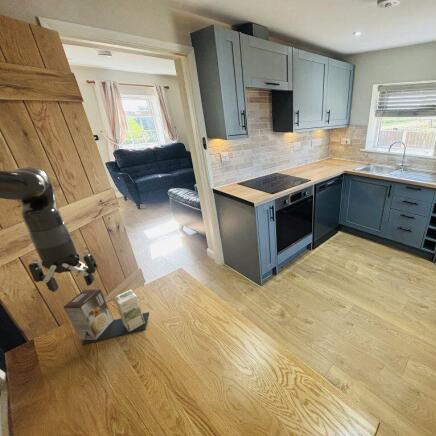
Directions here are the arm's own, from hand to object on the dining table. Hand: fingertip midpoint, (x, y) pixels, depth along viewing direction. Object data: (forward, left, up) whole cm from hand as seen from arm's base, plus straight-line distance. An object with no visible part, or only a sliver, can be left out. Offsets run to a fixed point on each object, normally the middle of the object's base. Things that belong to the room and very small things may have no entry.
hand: (73, 286), depth 72 cm
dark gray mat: (+3, +9, -28) cm, 30 cm away
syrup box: (+9, +8, -28) cm, 30 cm away
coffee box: (-4, +10, -28) cm, 30 cm away
